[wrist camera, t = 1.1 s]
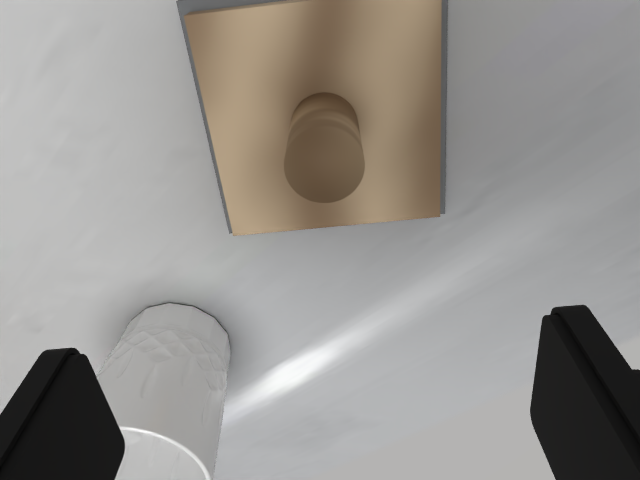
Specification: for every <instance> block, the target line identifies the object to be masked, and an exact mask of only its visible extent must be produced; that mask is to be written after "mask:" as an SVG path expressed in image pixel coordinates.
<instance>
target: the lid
mask: <svg viewBox="0 0 640 480" xmlns="http://www.w3.org/2000/svg"><path fill="white" fill-rule="evenodd" d="M441 12H442V0H286V1H278V2H269V3H261V4H253V5H245V6H236V7H228V8H220V9H211V10H203V11H195V12H189V13H188V14H186V15H184V19H185V24H186V28H187V33H188V37H189V42H190V46H191V50H192V55H193V59H194V64H195V68H196V73H197V77H198V81H199V86H200V90H201V95H202V99H203V104H204V108H205V113H206V117H207V121H208V126H209V130H210V135H211V139H212V144H213V148H214V153H215V157H216V161H217V166H218V170H219V175H220V179H221V184H222V188H223V193H224V197H225V201H226V206H227V210H228V215H229V219H230V224H231V228H232V233H233V236H237V235H248V234H259V233H269V232H280V231H291V230H302V229H313V228H323V227H334V226H345V225H356V224H366V223H377V222H388V221H399V220H410V219H420V218H431V217H440V158H441Z"/></svg>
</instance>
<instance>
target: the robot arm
mask: <svg viewBox="0 0 640 480" xmlns="http://www.w3.org/2000/svg"><path fill="white" fill-rule="evenodd" d="M530 414H531V420H532V424H533V427H534V429H535V432H536V434H537V437H538V439H539V441H540V444H541V446H542V448H543V450H544V453H545V455H546V458H547V460H548V462H549V465H550V467H551V469H552V472H553V474H554V477H555V479H556V480H640V370H632V369H631V368H630V366H629V365H628V363H627V362H626V361H625V359H624V358H623V356H622V355H621V354H620V352H619V351H618V349H617V348H616V346H615V345H614V344H613V342H612V341H611V339H610V338H609V336H608V335H607V334H606V332H605V331H604V329H603V328H602V327H601V325H600V324H599V322H598V321H597V319H596V318H595V317H594V315H593V314H592V312H591V311H590V310H589V308H588V307H587V306H585V305H575V306H563V307H555V308H553V309H552V311H551V315H545V316H544V317H543V319H542V325H541V332H540V339H539V347H538V354H537V362H536V369H535V377H534V384H533V392H532V400H531V407H530ZM124 452H125V440H124V437H123V435H122V433H121V430H120V428H119V426H118V424H117V422H116V419H115V417H114V415H113V413H112V411H111V408H110V406H109V404H108V402H107V399H106V397H105V395H104V393H103V391H102V388H101V386H100V384H99V382H98V380H97V377H96V375H95V373H94V371H93V368H92V366H91V364H90V362H89V360H88V358H87V356H86V355H84V354H80V353H79V351H78V350H77V349H75V348H63V349H51V350H46V351H44V352H42V354H41V355H40V356H39V357H38V359H37V360H36V362H35V363H34V365H33V366H32V368H31V369H30V371H29V372H28V374H27V375H26V377H25V378H24V380H23V381H22V383H21V384H20V386H19V387H18V389H17V390H16V392H15V393H14V395H13V396H12V398H11V399H10V401H9V402H8V404H7V405H6V407H5V408H4V410H3V412H2V413H1V415H0V480H115V478H116V475H117V472H118V470H119V467H120V464H121V462H122V459H123V456H124Z"/></svg>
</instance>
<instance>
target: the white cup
mask: <svg viewBox="0 0 640 480" xmlns="http://www.w3.org/2000/svg"><path fill="white" fill-rule="evenodd" d="M230 355H231V350H230V345H229V339H228V334H227V333H226V332H225V330H224V329H223V328H222V327H221V325H220V324H219V323H218V322H217V321H216V319H215V318H214V317H212V316H210V315H208V314H206V313H204V312H203V311H201V310H199V309H197V308H195V307H193V306H186V305H179V304H172V303H167V304H162V305H158V306H154V307H149V308H146V309H145V310H144V311H142V312H141V313H140V314H139V315H138V316H136V317H135V318H134V319H133V320H131V322H130V323H129V325H128V327H127V328H126V330H125V332H124V334H123V335H122V337H121V339H120V341H119V343H118V344H117V345H116V347H115V348H114V349H113V351H112V352H111V353H110V355H109V356H108V358H107V359H106V361H105V363H104V365H103V366H102V368H101V370H100V371H99V373H98V374H97V375H96V377H97V380H98V382H99V384H100V386H101V388H102V391H103V393H104V395H105V397H106V399H107V402H108V404H109V406H110V408H111V411H112V413H113V415H114V417H115V419H116V422H117V424H118V426H119V428H120V430H121V433H122V435H123V437H124V440H125V452H124V456H123V459H122V462H121V464H120V467H119V470H118V472H117V475H116V478H115V480H213V477H214V470H215V464H216V458H217V451H218V445H219V439H220V432H221V426H222V420H223V412H224V401H225V396H226V389H227V373H228V367H229V361H230Z"/></svg>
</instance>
